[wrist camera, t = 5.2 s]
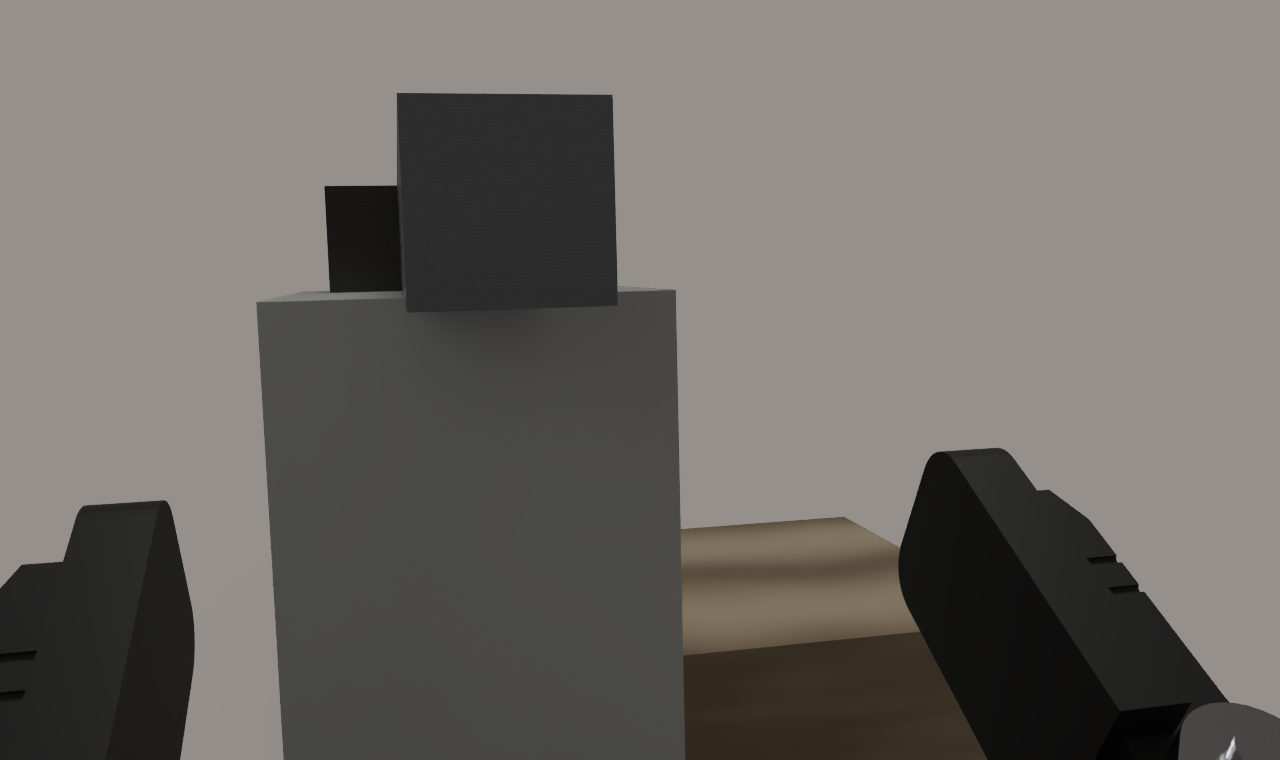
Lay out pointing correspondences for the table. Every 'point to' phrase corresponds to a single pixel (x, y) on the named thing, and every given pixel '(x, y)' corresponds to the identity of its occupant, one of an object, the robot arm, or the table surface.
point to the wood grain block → (808, 650)
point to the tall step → (475, 528)
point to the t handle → (486, 206)
